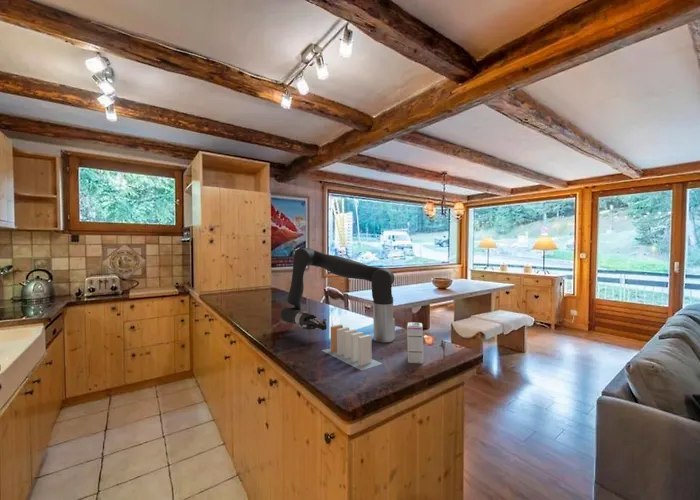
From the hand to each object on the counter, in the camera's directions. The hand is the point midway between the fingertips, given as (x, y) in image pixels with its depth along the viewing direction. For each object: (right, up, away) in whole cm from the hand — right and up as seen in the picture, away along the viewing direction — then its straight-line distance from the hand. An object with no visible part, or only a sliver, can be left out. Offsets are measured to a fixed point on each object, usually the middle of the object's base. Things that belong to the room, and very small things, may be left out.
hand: (324, 327), depth 132 cm
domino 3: (+11, -7, -14) cm, 20 cm away
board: (+11, -8, -14) cm, 20 cm away
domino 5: (+16, -8, -22) cm, 28 cm away
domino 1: (+6, -7, -7) cm, 12 cm away
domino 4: (+14, -7, -18) cm, 24 cm away
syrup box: (+35, -9, -19) cm, 41 cm away
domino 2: (+8, -7, -11) cm, 16 cm away
